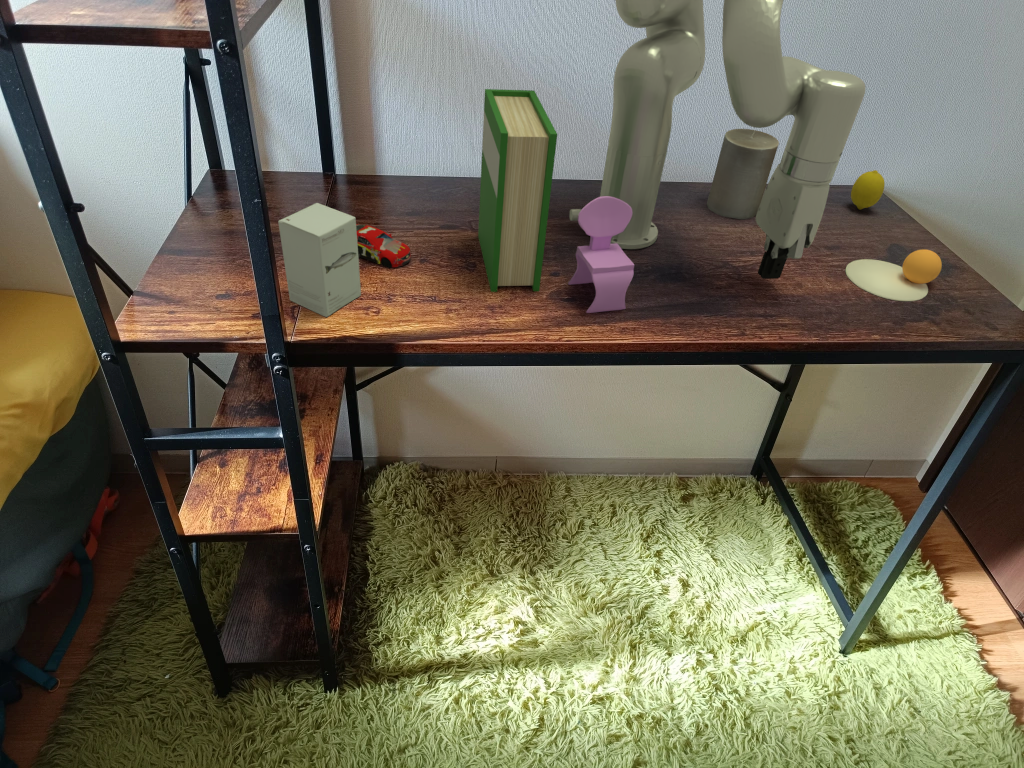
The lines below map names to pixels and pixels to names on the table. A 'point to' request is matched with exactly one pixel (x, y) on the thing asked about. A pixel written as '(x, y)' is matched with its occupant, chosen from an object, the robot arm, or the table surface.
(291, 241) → the supplement box
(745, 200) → the pillar candle
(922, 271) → the ball
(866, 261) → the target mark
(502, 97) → the hardback book
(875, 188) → the lemon
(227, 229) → the table surface
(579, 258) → the toy chair
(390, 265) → the race car
